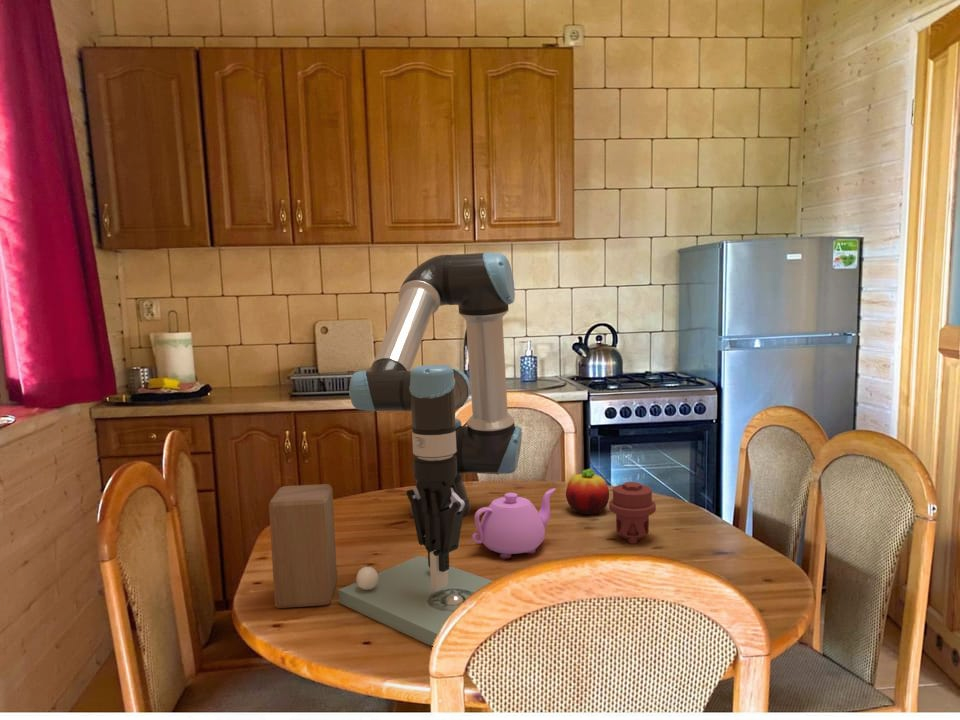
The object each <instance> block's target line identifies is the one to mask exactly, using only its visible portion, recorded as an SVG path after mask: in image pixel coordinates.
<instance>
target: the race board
mask: <svg viewBox="0 0 960 720" xmlns="http://www.w3.org/2000/svg"><path fill="white" fill-rule="evenodd" d="M377 573H378V577H379V579H378V583H377V585H376V586H375V587H374V588H373V589H370V590H363V589H361V588H360V587H359V586H358V585H357V582H356V581H355V582H353V583H351V584H349V585H346V586H344V587H341V588H339V589H338V603H339V604H340V605H342V606H345V607H346V608H349V609H351V610H353V611H355V612H357V613H360V614H361V615H363V616H366V617H368V618H369V619H370V618H371V619H372V620H375V621H377V622H378V623H381V624H383V625H385V626H387V627H389V628H391V629H394V630H395V631H398V632H400V633H402V634H404V635H407V636H409V637H411V638H413V639H415V640H417V641H419V642H421V643H424V644H425V645H429V646H430V645H431V646H430V647H432V644H433V642H434V639H435V638H436V636H437V634H438V633H439V631H440V629H441V627H442V625H443V624H444V622H445V621H446V620H447V618H448V617H449V616H450V615H451V613H452V612H453V611H454V610H455V609H456V608H457V607H458V606H459V605H455V606H449V605H444V603H445V600H446V598H447V597H448V596H449V595H451V594H458V595H460V596H461V597H462V598H463V600H465V599H466V598H468V597H469V596H470V595H471V594H473V593H474V592H476V591H477V590H478V589H480V588H481V587H483V586H485V585H487V584H488V583H490V582H492V581H493V580H492V579H488V578H485V577H482V576H480V575H477V574H474V573H471V572H468V571H465V570H462V569H460V568H457V567H453V566H450V565H449V570H447V574H448V586H446V587H444V588H442V589H439V590H437V591H436V590H434V589H431V574H430V567H429V565H428V557H425V556H422V555H418V556H414V557H413V558H410V559H407V560H406V561H404V562H401V563H398V564H396V565H394V566H392V567H388V568H387V569H383V570H382V571H379V572H377Z"/></svg>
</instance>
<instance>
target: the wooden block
mask: <svg viewBox="0 0 960 720" xmlns="http://www.w3.org/2000/svg"><path fill="white" fill-rule="evenodd" d="M268 511H269V512H268V513H269V527H270V528H269V529H270V544H271V558H272V559H271V562H272V563H271V564H272V575H273V577H272V579H273V593H274V594H273V595H274V604H275V606H276V608H278V609H286V608H300V607H315V606H317V607H318V606H327V605H329V604H331V602H332V599H333V595H334V594H335V593H334V592H335V589H336V586H337V582H338V572H337V571H338V570H337V550H336V534H335V533H336V531H335V515H334V493H333V488H332V485H331V484H328V483H322V484H303V485H302V484H300V485H283V486H282V487H279V489H277V491H276V493H274V495H273V497H272V498H271V500H270V501H269V503H268Z"/></svg>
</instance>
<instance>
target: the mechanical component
mask: <svg viewBox="0 0 960 720" xmlns="http://www.w3.org/2000/svg"><path fill="white" fill-rule="evenodd" d="M652 497H653V490H652V488H651V487H650V486H647V485H644V484H642V483H640V482H638V481H637V482H636V481H626V482H624V483H623V484H617V485H615V486H614V487H613V488H612V499H610V500H609V501H608V505H609V506H608V507H609V510H610V512H612V513H613V514H615V517H616V518H615V524H616V525H615V527H616V528H615V529H616V530H615V531H616V533H617V534H618V536H619V537H621V538H623V539H625V540H627V541H628V543H629V544H630V545H636V544H637V542H638V541H639V540H641V539H644V538H646V537H647V535H649V532H650V531H649V529H650V528H649V527H650V526H649V525H650V524H649V523H650V522H649V520H650V517H649V516H651V515H653V514H655V512H656V511H657V510H656V509H657V508H656V507H657V505H656V503H655V501H653V498H652Z"/></svg>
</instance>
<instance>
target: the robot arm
mask: <svg viewBox="0 0 960 720" xmlns="http://www.w3.org/2000/svg"><path fill="white" fill-rule="evenodd" d="M397 297H398V301H399V302H398V304H397V307H396V309H395V311H394V313H393V315H392V319H391V321H390V323H389V325H388V327H387V330H386V332H385V335H384V337H383V339H382V342H381V344H380V346H379V348H378V350H377V353H376V355H375V357H374V360H373V362H372V364H371V366H370V368H369V370H366V369H363V370H358V371H356V372H355V373H353V374H352V375H351V378H350V379H349V387H348V393H349V395H348V396H349V399H350V401H351V402H350V403H351V405H352V406H353V407H354V408H355V409H356V410H359V411H369V412H371V411H372V412H397V411H398V412H399V411H401V412H402V411H403V412H405V411H408V412H411V434H412V435H411V436H412V438H411V439H412V454H413V455H414V457H413V459H412V464H413V465H412V467H413V471H412V472H413V477H414V479H415V480H416V481H415V482H416V484H415V487H414V488H411V489H409V490H408V489H407V490H406V495H407V498H408V500H409V502H410V503H409V504H410V516H411V517H412V518H413V521H414V526H415V531H416V536H417V542H418V544H419V545H420V546H424V547H425V550H426V551H427V558H428V565H429V567H430V574H431V589H434V590H436V591H437V590H439V589H442V588H444V587H446V586H448V574H447V570H449V566H450V553H451V552H454V551H456V550H457V549H458V548H459V542H460V537H461V531H462V524H463V519H464V518H465V517H467V516H468V515H470V513H471V500H470V499H469V497H468V494H467V491H466V488H465V487H466V486H465V485H464V482H463V480H464V479H463V474H487V475H497V476H498V475H505V474H506V475H507V474H509V475H510V474H513V473H514V472H515V471H516V470H517V467H518V464H519V459H520V453H521V446H522V436H523V434H522V430H523V429H522V427H521V426H518V425H515V418H514V417H513V416H512V415H511V414H510V413H509V412H508V395H507V378H506V376H507V375H506V358H505V355H506V354H505V340H504V324H503V323H504V322H503V319H504V316H505V315H506V314H508V312H509V305H511V304H513V303H514V302H515V298H516V292H515V280H514V275H513V270H512V267H511V263H510V261H509V259H508V258H507V256H506V255H505V254H502V253H500V252H499V253H498V252H497V253H496V252H476V253H475V252H474V253H457V254H456V253H455V254H440V255H436V256H434V257H431V258H429V259H427V260H424V262H422V263H421V264H419V265H418V266H416V268H414V269H413V270H412V271H411V272H410V273H409V274H408V275H407V277H406V278H405V279H404V281H403V282H402V284H401V287H400V289H399V291H398V296H397ZM442 306H458V314H459V316H461V317H462V318H463V319H464V320H465V325H466V327H465V328H466V339H467V340H466V341H467V353H468V354H467V356H468V367H469V371H468V372H469V377H468V375H467V374H465V373H464V371H462V370H460V369H457V368H453V367H452V366H450V365H447V364H423V365H419V366H418V365H417V366H415V367H413V365H414V362H415V359H416V357H417V355H418V351H419V349H420V346H421V344H422V340H423V339H424V335H425V333H426V329H427V327H428V325H429V322H430V320H431V316H432V315H434V314H435V313H436V312H437V311H438V310H439V308H440V307H442ZM470 396H471V409H472V413H471V414H472V415H471V416H470V417H469V418H468V419H467V421H466V425H463V424H462V422H461V420H460V419H459V418H456V410H457V409H461V408H462V406H464V405H465V404H466V403H467V400H468V399H469V398H470Z"/></svg>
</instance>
